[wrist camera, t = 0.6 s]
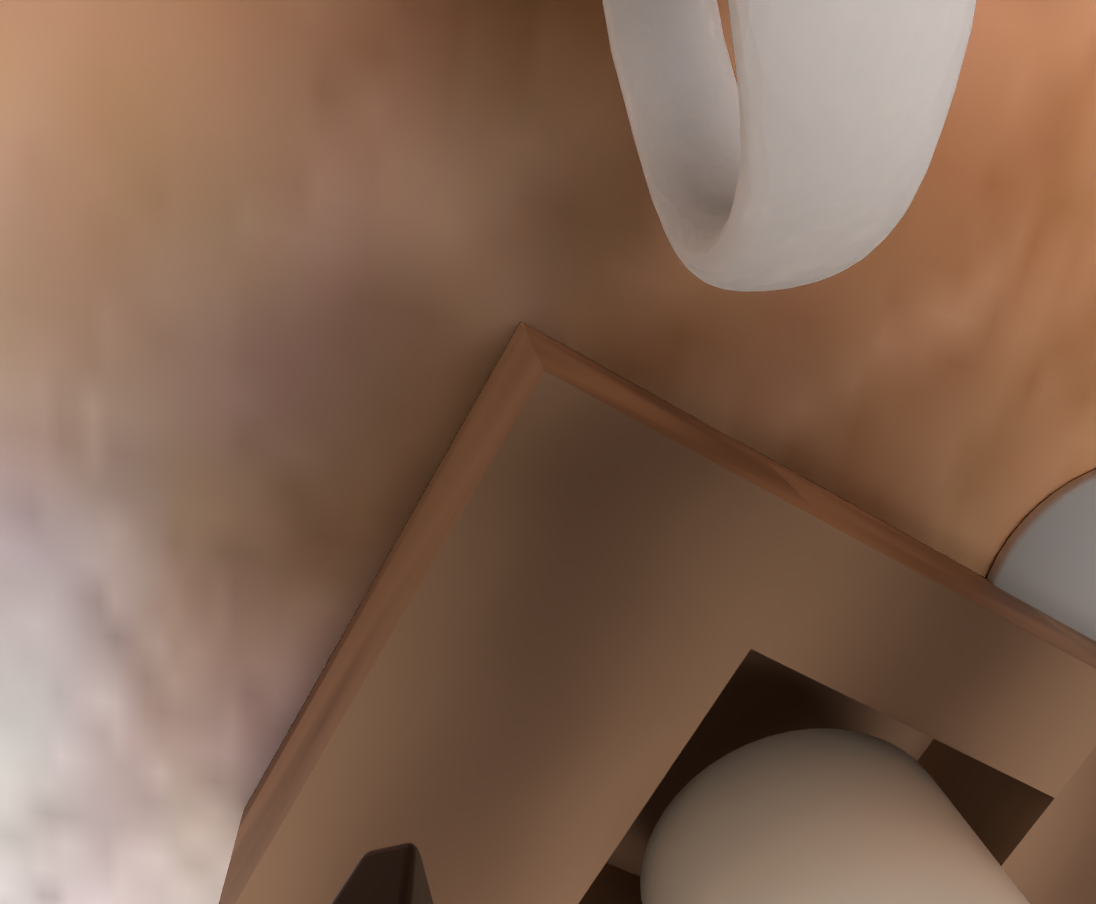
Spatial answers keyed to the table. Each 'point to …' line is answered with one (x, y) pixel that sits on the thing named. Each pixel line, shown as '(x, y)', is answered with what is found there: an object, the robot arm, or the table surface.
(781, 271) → the mug
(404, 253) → the table surface
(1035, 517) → the mat
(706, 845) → the cream short cylinder
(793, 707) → the brown wooden block
